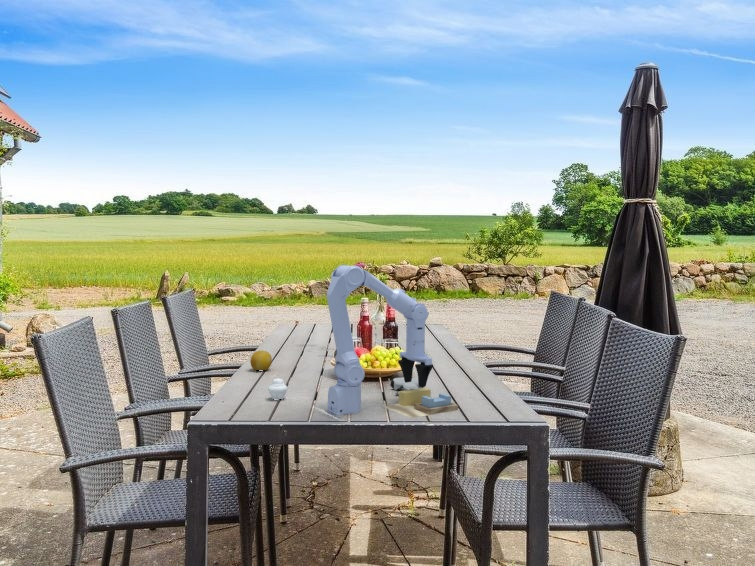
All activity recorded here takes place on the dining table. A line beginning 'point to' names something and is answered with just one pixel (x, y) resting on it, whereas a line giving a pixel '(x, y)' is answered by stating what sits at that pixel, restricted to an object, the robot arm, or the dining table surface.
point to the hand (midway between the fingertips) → (415, 384)
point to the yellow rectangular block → (413, 396)
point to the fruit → (261, 360)
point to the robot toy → (404, 384)
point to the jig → (420, 409)
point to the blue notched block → (436, 401)
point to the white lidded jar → (277, 389)
